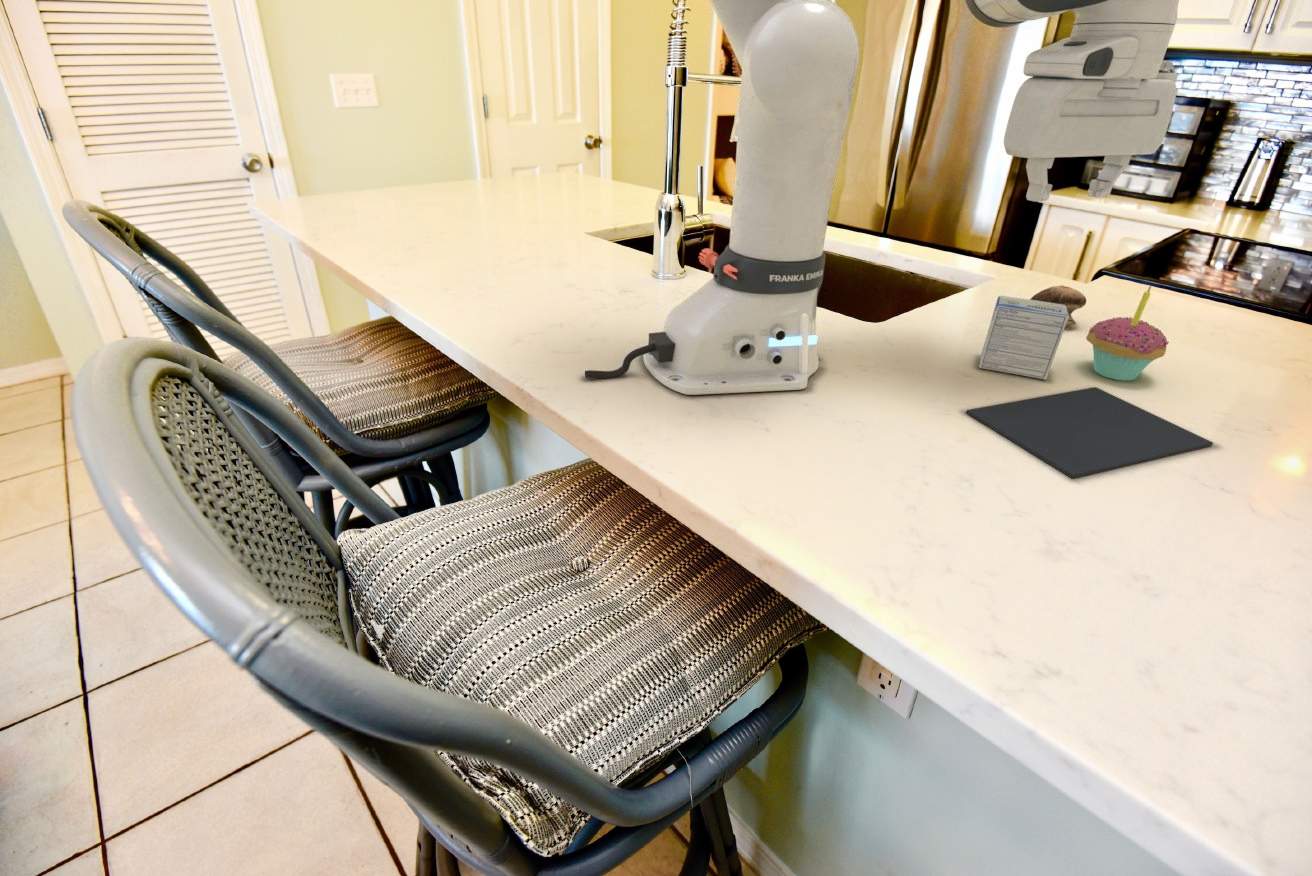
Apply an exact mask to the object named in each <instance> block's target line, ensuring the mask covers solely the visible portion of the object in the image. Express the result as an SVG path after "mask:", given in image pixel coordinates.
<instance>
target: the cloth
mask: <svg viewBox="0 0 1312 876" xmlns="http://www.w3.org/2000/svg"><path fill="white" fill-rule="evenodd" d="M965 413H966V414H967V415H968V416H970V417H971V418H973V419H975V420H976V421H978V422H980V423H982V424H983V425H985V426H986V427H988V428H989V429H991V430H992V431H994V432H996V433H998V434H999V435H1001V436H1002V437H1004V438H1005V439H1007V440H1009V441H1011V442H1012V443H1014V444H1016V445H1017V446H1019V447H1021V448H1022V449H1023V450H1025V451H1026V452H1028V453H1030V454H1032V455H1033V456H1035V457H1037V458H1038V459H1039V460H1042V461H1043V462H1044V463H1046V464H1048V465H1049V466H1051V467H1052V468H1054V469H1056V470H1057V471H1059V472H1061V473H1063V474H1064V475H1066V476H1068V478H1071V479H1076V478H1080V477H1085V476H1089V475H1093V474H1098V473H1103V472H1106V471H1110V470H1114V469H1115V470H1116V469H1118V468H1123V467H1127V466H1131V465H1137V464H1141V463H1145V462H1148V461H1153V460H1158V459H1161V458H1166V457H1170V456H1174V455H1179V454H1183V453H1187V452H1191V451H1195V450H1200V449H1204V448H1208V447H1212V446H1213V445H1214V441H1211V440H1209V439H1207V438H1204V437H1202V436H1200V435H1198V434H1197V433H1194V432H1192V431H1189V430H1188V429H1185V428H1183V427H1182V426H1179V425H1177V424H1175V423H1172V422H1171V421H1168V420H1166V419H1164V418H1162V417H1160V416H1158V415H1156V414H1153V413H1152V412H1149V411H1148V410H1145V409H1143V408H1141V407H1139V406H1136V405H1135V404H1132V403H1130V402H1129V401H1126V400H1124V399H1122V398H1120V397H1118V396H1116V395H1113V394H1111V393H1109V392H1107V391H1105V390H1104V389H1101V388H1099V387H1096V386H1094V387H1088V388H1083V389H1077V390H1072V391H1065V392H1061V393H1060V392H1059V393H1055V394H1049V395H1043V396H1038V397H1033V398H1026V399H1020V400H1015V401H1010V402H1005V403H1004V402H1003V403H998V404H993V405H987V406H981V407H976V408H975V407H974V408H970V409H966V411H965Z"/></svg>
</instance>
